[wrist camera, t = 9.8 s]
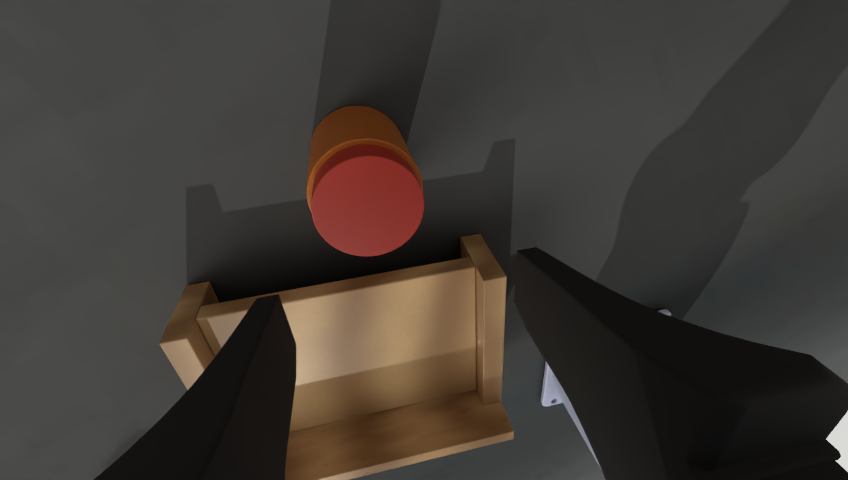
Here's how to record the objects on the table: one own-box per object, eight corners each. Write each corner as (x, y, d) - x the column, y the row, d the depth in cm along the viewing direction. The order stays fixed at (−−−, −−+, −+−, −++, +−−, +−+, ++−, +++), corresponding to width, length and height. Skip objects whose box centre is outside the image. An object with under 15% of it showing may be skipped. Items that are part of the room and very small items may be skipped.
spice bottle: (398, 99, 18) (425, 140, 14) (408, 187, 21) (433, 250, 16) (300, 111, 18) (290, 160, 13) (321, 200, 20) (320, 270, 15)
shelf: (480, 233, 23) (524, 303, 18) (480, 358, 29) (513, 439, 24) (185, 284, 21) (141, 380, 16) (248, 409, 27) (230, 509, 22)
